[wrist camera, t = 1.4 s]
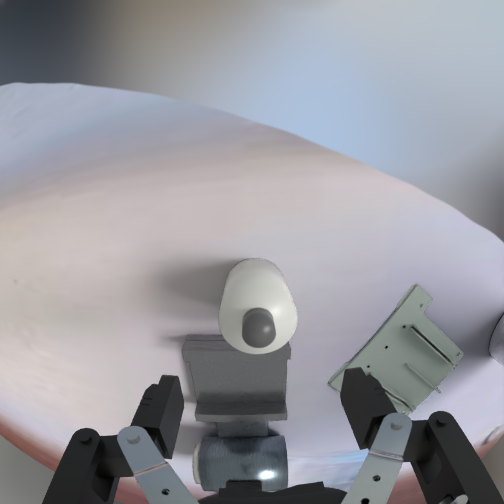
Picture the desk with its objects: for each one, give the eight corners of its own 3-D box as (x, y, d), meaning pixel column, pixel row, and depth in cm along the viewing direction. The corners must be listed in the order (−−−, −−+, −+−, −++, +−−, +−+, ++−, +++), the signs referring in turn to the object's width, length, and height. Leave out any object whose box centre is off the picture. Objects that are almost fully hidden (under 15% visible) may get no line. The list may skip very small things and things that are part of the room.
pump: (285, 257, 26) (303, 292, 17) (285, 313, 27) (299, 365, 18) (223, 259, 26) (212, 295, 17) (227, 315, 27) (219, 368, 18)
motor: (286, 332, 27) (303, 400, 18) (280, 456, 33) (286, 512, 23) (178, 334, 27) (150, 400, 17) (204, 456, 32) (197, 511, 23)
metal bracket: (483, 349, 23) (400, 437, 26) (464, 335, 29) (391, 413, 31) (415, 279, 25) (321, 385, 28) (399, 271, 31) (320, 363, 33)
